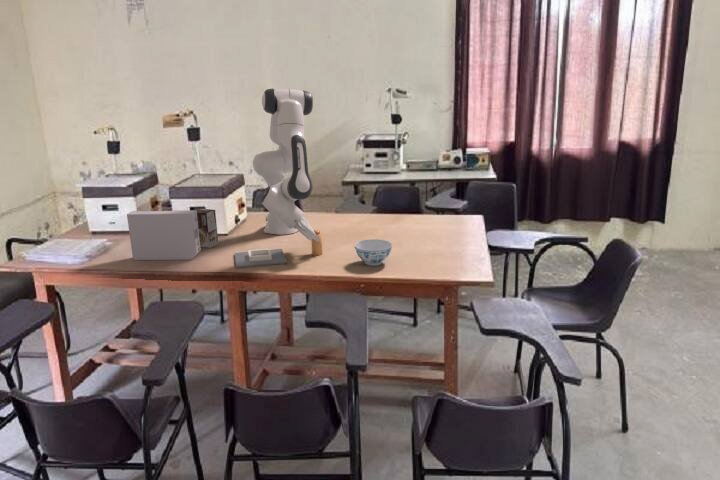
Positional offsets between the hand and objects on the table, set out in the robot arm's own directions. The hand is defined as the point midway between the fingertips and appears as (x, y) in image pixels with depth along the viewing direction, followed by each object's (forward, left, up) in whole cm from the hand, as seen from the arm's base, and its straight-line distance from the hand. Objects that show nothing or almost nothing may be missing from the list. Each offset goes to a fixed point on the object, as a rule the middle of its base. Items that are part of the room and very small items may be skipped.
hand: (318, 238), depth 248 cm
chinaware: (+18, +19, -7) cm, 27 cm away
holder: (0, -25, -7) cm, 25 cm away
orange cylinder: (0, -1, -7) cm, 7 cm away
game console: (-13, -62, -7) cm, 64 cm away
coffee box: (-27, -47, -7) cm, 54 cm away
